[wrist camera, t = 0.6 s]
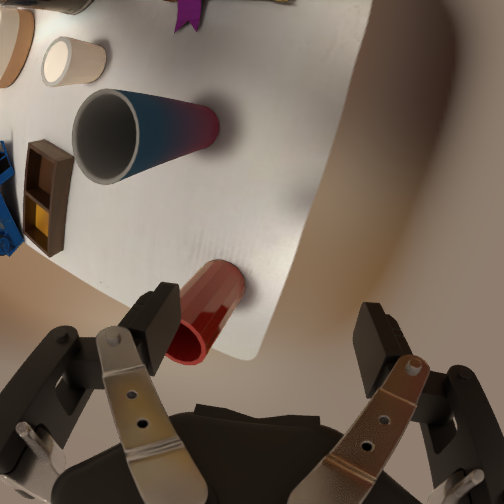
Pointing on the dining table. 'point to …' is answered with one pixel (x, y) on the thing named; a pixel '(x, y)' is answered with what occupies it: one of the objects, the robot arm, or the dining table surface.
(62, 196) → the caddy
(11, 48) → the bowl
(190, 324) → the tumbler
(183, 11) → the book
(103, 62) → the shot glass
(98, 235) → the dining table surface
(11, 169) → the toy vehicle
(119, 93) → the cup
